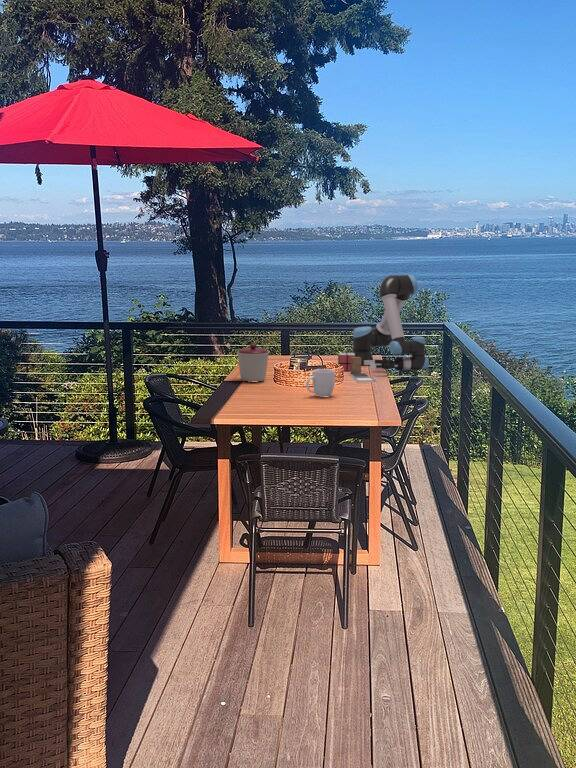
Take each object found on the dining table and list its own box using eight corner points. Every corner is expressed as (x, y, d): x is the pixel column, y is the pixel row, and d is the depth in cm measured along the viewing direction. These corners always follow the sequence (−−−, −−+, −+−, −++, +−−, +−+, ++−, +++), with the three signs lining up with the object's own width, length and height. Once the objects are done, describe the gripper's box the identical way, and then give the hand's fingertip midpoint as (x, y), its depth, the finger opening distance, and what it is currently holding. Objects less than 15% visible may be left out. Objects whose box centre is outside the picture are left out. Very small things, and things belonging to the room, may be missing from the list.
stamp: (350, 373, 468) (350, 356, 466) (358, 373, 469) (359, 356, 467) (352, 375, 463) (352, 358, 461) (360, 375, 464) (361, 358, 462)
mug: (311, 399, 392) (311, 373, 390) (301, 395, 402) (302, 370, 400) (338, 397, 398) (338, 371, 396) (328, 393, 408) (328, 368, 406)
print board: (352, 378, 451) (352, 377, 451) (371, 378, 453) (371, 377, 453) (357, 382, 440) (357, 380, 440) (376, 381, 442) (376, 380, 442)
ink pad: (350, 375, 461) (350, 373, 461) (365, 375, 462) (365, 373, 462) (353, 378, 452) (353, 376, 452) (369, 378, 454) (369, 375, 453)
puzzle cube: (355, 371, 475) (355, 355, 473) (338, 371, 475) (338, 355, 474) (354, 369, 485) (354, 352, 483) (337, 369, 485) (338, 352, 483)
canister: (268, 384, 432) (268, 345, 429) (235, 383, 433) (234, 345, 429) (270, 378, 450) (270, 341, 446) (238, 378, 451) (238, 341, 447)
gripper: (408, 373, 457) (372, 374, 454) (395, 366, 482) (361, 367, 478) (409, 360, 456) (373, 361, 452) (396, 354, 480) (361, 355, 477)
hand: (367, 364), depth 465 cm, fingers open, 13 cm apart
